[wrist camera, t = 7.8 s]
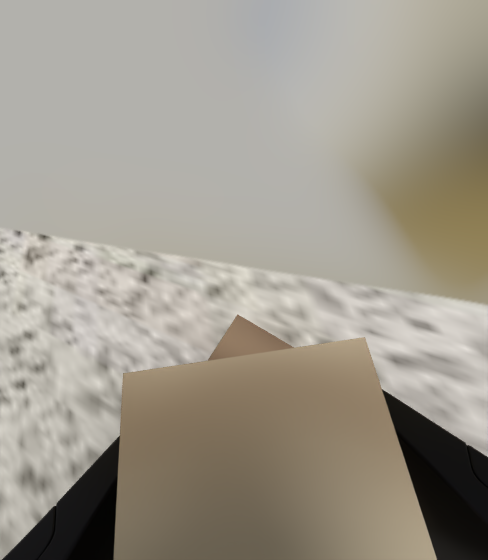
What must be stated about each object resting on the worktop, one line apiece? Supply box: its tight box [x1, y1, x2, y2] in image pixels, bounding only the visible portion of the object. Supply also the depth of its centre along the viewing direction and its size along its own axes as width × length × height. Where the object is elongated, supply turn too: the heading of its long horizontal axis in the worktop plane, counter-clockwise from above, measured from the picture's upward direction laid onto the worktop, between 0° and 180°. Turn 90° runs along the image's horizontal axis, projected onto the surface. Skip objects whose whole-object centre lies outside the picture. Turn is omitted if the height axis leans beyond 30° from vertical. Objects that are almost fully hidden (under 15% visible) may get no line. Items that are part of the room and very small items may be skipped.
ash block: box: [114, 337, 437, 560], centre depth 11 cm, size 4×6×12 cm
